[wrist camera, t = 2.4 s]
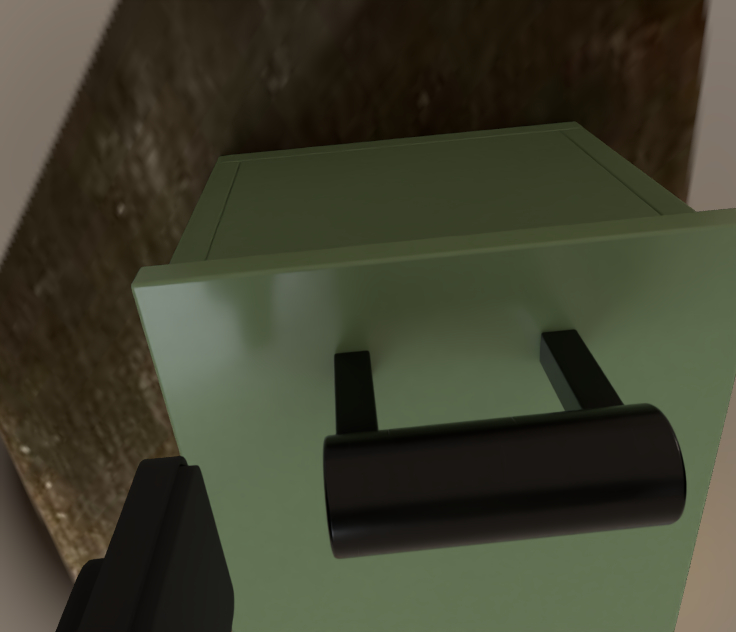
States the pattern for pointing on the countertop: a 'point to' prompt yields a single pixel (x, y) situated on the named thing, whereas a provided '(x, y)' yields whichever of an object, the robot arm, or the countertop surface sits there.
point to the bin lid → (456, 422)
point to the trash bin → (415, 191)
